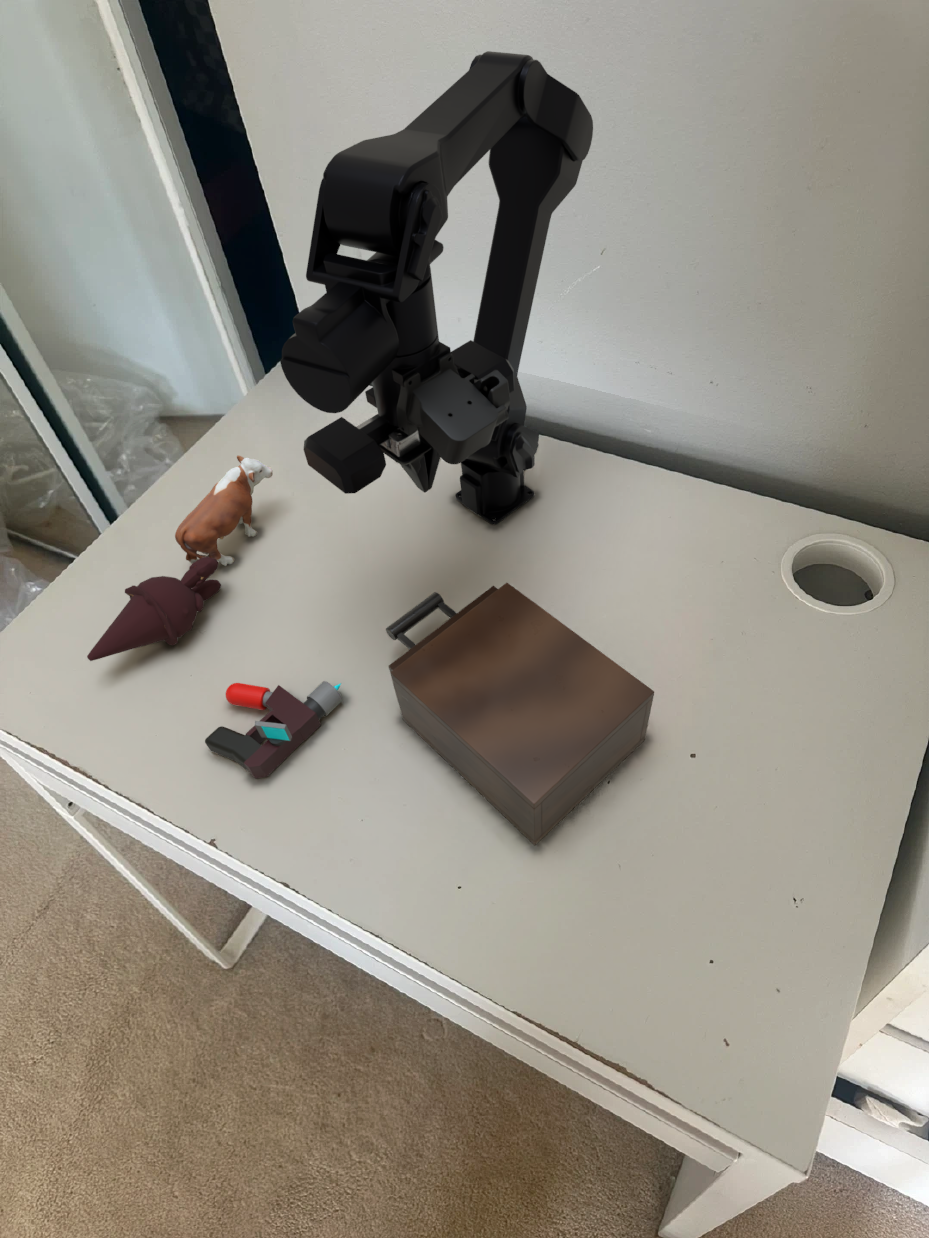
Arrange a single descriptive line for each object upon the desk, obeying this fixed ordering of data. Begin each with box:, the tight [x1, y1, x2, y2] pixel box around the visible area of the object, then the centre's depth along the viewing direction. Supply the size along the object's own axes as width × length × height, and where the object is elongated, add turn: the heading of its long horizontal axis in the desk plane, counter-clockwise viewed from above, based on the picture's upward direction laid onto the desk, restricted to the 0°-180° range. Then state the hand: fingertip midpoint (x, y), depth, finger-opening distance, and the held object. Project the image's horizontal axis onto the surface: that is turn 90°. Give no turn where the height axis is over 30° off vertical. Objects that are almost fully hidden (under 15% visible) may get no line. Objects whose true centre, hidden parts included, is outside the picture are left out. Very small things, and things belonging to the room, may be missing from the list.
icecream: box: [86, 557, 222, 662], centre depth 77 cm, size 7×7×15 cm
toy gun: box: [204, 680, 344, 779], centre depth 71 cm, size 10×12×5 cm
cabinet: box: [389, 582, 655, 846], centre depth 67 cm, size 17×14×8 cm
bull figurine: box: [174, 455, 274, 567], centre depth 84 cm, size 4×13×8 cm, turn 148°
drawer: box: [385, 585, 499, 701], centre depth 69 cm, size 20×12×6 cm, turn 43°
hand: (424, 488), depth 72 cm, fingers closed
